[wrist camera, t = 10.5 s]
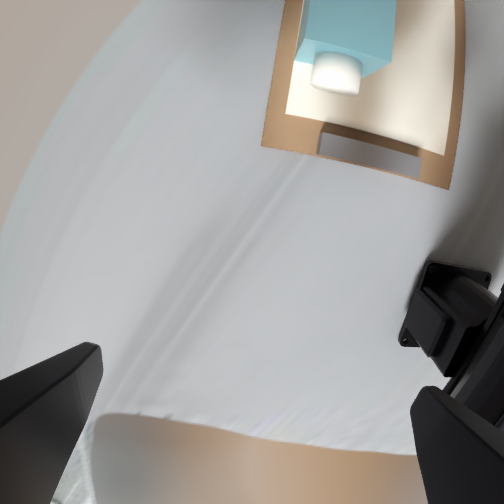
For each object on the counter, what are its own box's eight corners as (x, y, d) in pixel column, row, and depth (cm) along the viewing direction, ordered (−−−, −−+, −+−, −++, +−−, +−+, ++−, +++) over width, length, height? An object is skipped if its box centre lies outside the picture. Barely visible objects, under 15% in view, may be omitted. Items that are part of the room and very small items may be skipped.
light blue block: (312, -50, 12) (323, -84, 9) (374, -32, 13) (397, -62, 9) (289, 87, 16) (299, 70, 12) (360, 103, 16) (387, 93, 12)
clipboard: (460, -6, 13) (470, -12, 12) (445, 189, 18) (457, 192, 16) (296, -63, 12) (298, -74, 11) (260, 146, 17) (261, 145, 16)
